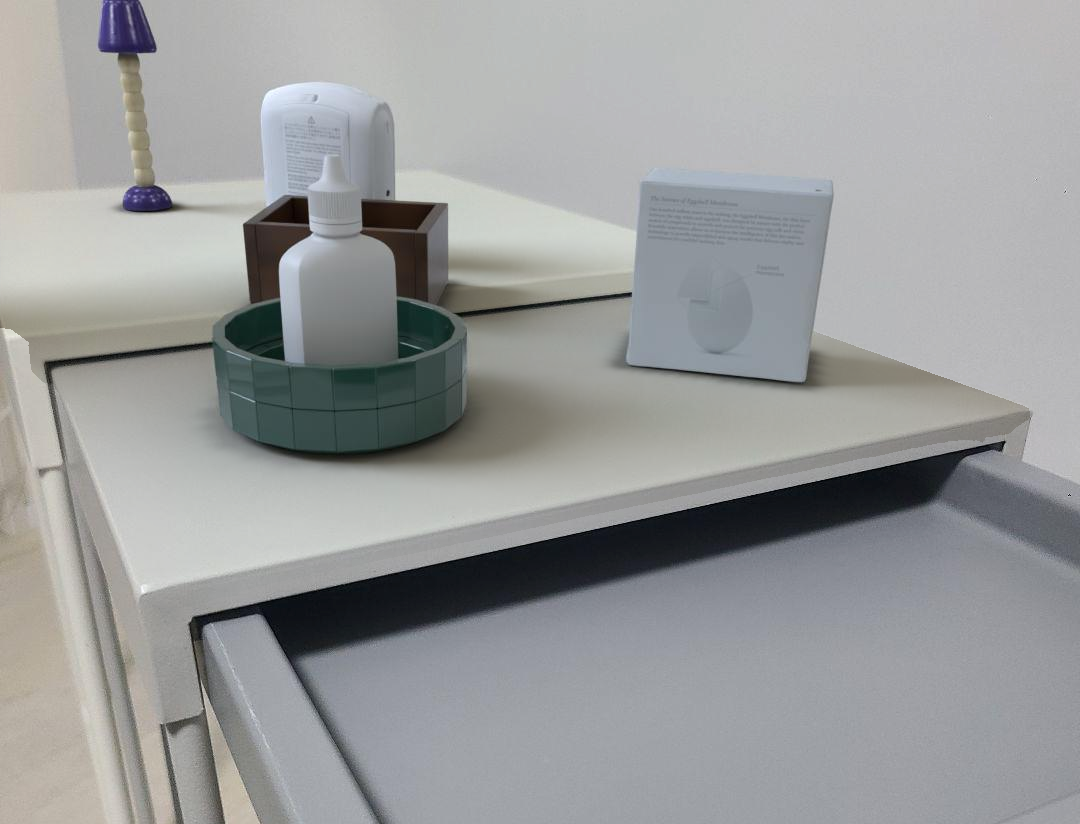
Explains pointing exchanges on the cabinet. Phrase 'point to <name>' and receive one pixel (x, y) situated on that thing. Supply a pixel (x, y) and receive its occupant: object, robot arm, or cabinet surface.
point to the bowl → (341, 383)
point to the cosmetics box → (728, 272)
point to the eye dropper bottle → (338, 282)
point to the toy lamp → (133, 94)
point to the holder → (397, 224)
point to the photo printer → (326, 139)
